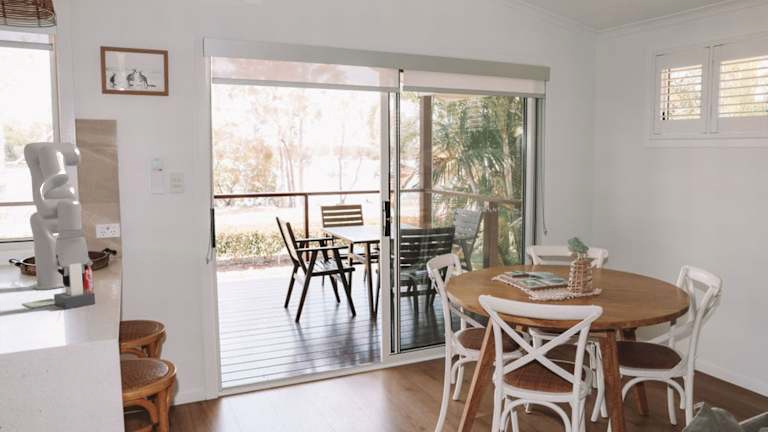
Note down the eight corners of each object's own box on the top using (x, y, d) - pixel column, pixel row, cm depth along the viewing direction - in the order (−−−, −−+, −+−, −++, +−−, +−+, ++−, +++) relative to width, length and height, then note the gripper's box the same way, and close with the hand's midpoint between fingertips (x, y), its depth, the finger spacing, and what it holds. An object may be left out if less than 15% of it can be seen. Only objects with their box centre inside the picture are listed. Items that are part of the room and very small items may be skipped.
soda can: (85, 299, 227) (83, 268, 226) (68, 299, 228) (66, 267, 227) (97, 295, 234) (95, 264, 233) (81, 295, 235) (79, 264, 234)
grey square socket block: (54, 305, 219) (54, 294, 219) (83, 300, 226) (82, 289, 226) (66, 309, 212) (65, 298, 212) (95, 304, 220) (94, 293, 219)
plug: (66, 296, 219) (63, 263, 218) (77, 294, 222) (75, 262, 221) (71, 298, 216) (69, 265, 215) (83, 296, 219) (81, 263, 218)
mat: (22, 304, 221) (22, 303, 221) (51, 299, 228) (51, 298, 228) (32, 308, 214) (32, 307, 214) (62, 303, 222) (62, 302, 222)
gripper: (90, 231, 226) (93, 280, 227) (41, 236, 213) (44, 287, 215) (99, 233, 221) (102, 282, 222) (49, 238, 208) (53, 290, 210)
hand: (73, 284), depth 219 cm, fingers closed on plug, 4 cm apart
